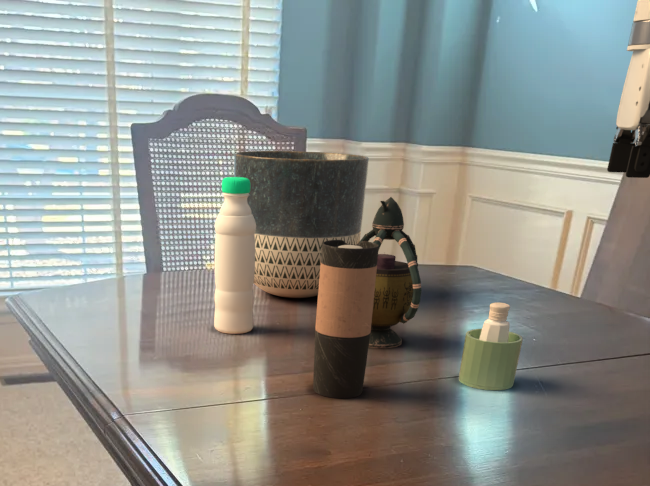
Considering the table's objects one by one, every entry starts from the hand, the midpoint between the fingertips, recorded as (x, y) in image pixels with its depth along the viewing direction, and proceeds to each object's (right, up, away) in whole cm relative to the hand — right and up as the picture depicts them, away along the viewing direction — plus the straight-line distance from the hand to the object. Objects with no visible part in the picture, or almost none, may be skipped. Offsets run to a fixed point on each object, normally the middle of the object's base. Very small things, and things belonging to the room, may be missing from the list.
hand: (627, 174), depth 115 cm
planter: (-47, -2, +51) cm, 69 cm away
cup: (-21, -31, +2) cm, 37 cm away
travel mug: (-44, -33, -4) cm, 55 cm away
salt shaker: (-21, -30, +1) cm, 37 cm away
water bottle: (-59, -17, +24) cm, 66 cm away
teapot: (-34, -18, +23) cm, 45 cm away
